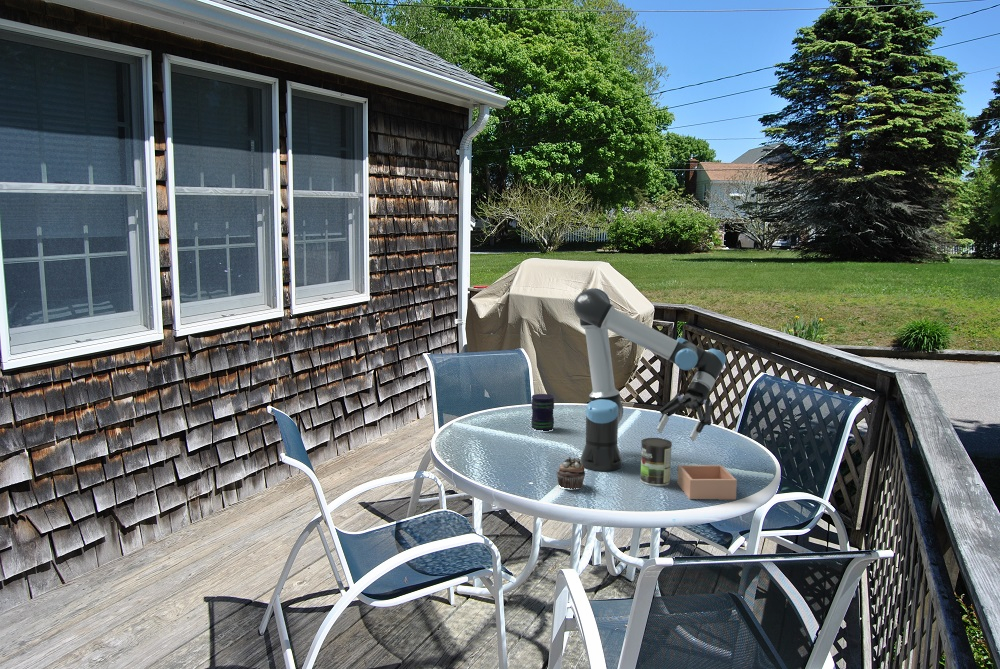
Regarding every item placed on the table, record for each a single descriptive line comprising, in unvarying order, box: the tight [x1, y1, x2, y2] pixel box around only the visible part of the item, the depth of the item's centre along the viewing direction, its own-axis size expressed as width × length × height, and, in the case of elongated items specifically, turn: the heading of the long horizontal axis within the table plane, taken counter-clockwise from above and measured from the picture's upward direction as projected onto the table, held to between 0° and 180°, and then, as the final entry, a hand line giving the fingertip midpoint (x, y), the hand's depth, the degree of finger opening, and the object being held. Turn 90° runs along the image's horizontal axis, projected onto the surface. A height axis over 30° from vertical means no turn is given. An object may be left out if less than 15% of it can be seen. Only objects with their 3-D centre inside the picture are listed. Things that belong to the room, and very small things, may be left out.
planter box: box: [676, 464, 738, 501], centre depth 235 cm, size 15×15×6 cm
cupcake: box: [556, 457, 586, 489], centre depth 239 cm, size 10×10×10 cm
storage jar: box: [530, 393, 555, 431], centre depth 310 cm, size 10×10×15 cm
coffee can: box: [639, 437, 673, 487], centre depth 244 cm, size 10×10×14 cm
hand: (674, 435), depth 249 cm, fingers open, 13 cm apart
